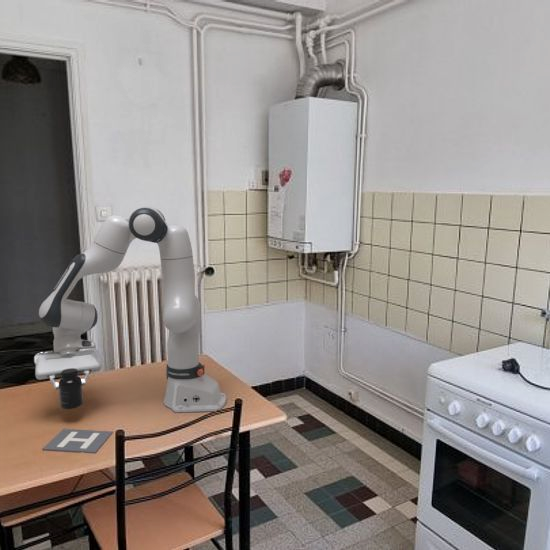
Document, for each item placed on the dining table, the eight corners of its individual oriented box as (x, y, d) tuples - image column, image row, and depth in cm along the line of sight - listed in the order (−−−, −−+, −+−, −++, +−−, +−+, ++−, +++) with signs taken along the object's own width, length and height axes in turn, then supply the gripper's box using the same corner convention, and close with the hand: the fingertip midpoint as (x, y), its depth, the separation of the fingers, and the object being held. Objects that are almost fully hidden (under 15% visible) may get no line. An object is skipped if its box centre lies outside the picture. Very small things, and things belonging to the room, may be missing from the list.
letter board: (112, 432, 148) (112, 431, 148) (95, 453, 136) (95, 452, 136) (63, 429, 149) (63, 428, 149) (42, 450, 137) (42, 448, 137)
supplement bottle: (71, 399, 159) (70, 365, 157) (87, 403, 157) (85, 368, 155) (55, 407, 153) (53, 372, 151) (71, 411, 150) (69, 375, 148)
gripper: (33, 348, 154) (33, 388, 147) (99, 341, 162) (103, 378, 155) (34, 357, 158) (35, 395, 151) (99, 349, 167) (103, 385, 160)
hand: (70, 386), depth 153 cm, fingers closed on supplement bottle, 7 cm apart
